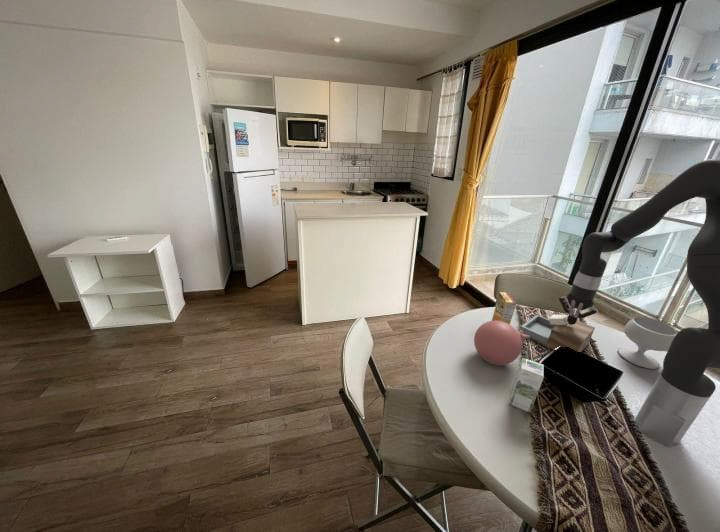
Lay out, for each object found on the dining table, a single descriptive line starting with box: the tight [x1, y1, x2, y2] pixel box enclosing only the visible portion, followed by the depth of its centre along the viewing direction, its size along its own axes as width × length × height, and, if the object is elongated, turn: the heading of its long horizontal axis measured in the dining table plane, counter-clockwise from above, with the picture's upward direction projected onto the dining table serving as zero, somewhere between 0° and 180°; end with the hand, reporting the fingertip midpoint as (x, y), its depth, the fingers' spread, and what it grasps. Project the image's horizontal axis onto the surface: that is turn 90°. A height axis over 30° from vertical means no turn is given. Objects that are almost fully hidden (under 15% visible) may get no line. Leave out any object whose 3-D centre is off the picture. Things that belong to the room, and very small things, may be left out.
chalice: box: [617, 316, 678, 370], centre depth 108 cm, size 14×14×15 cm
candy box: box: [491, 291, 517, 325], centre depth 123 cm, size 9×4×15 cm, turn 175°
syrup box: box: [509, 357, 545, 414], centre depth 86 cm, size 6×6×14 cm
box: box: [519, 314, 556, 347], centre depth 123 cm, size 16×10×4 cm, turn 129°
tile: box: [548, 314, 569, 325], centre depth 117 cm, size 5×5×2 cm
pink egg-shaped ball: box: [473, 320, 530, 366], centre depth 104 cm, size 15×20×15 cm
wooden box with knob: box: [545, 320, 596, 353], centre depth 115 cm, size 16×10×8 cm, turn 129°
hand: (570, 323), depth 114 cm, fingers closed
